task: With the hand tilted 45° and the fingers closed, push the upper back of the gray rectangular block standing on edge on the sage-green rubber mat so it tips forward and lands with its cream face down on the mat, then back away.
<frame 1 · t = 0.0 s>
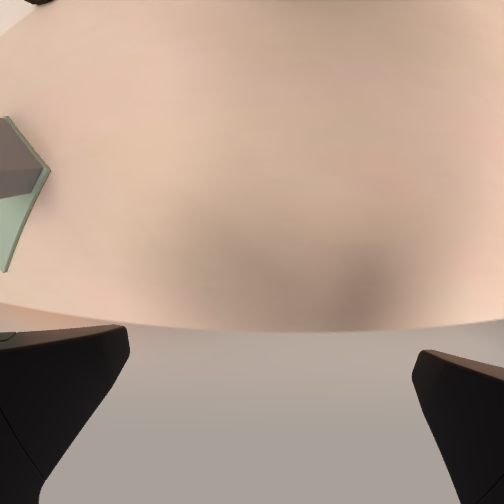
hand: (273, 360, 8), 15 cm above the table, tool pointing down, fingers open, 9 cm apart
gray rectangular block: (16, 153, 22), point 1 cm above the table, touching mat
mat: (1, 195, 24), on the table
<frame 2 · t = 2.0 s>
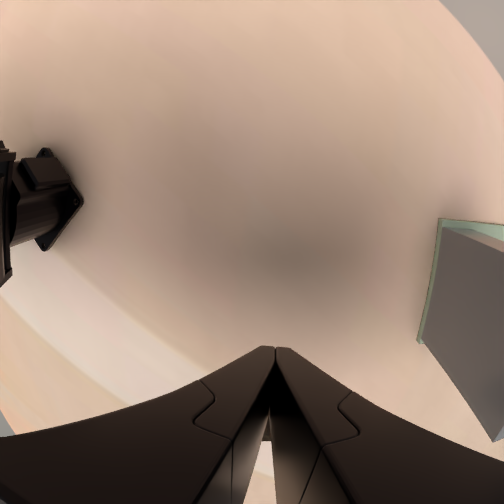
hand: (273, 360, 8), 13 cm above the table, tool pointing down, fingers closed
gray rectangular block: (448, 286, 20), point 1 cm above the table, touching mat
mat: (491, 282, 20), on the table
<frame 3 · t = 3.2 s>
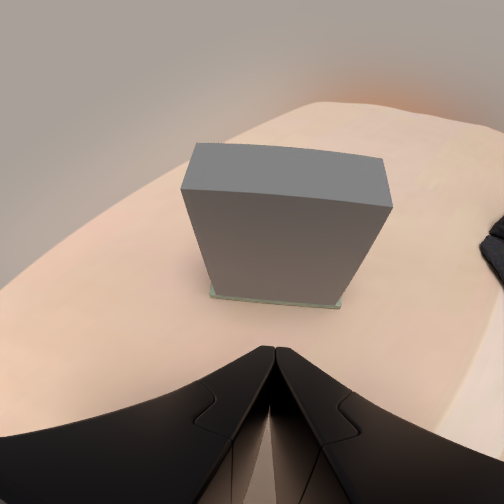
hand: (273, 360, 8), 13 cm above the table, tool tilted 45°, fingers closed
gray rectangular block: (277, 282, 23), point 1 cm above the table, touching mat
mat: (281, 227, 27), on the table
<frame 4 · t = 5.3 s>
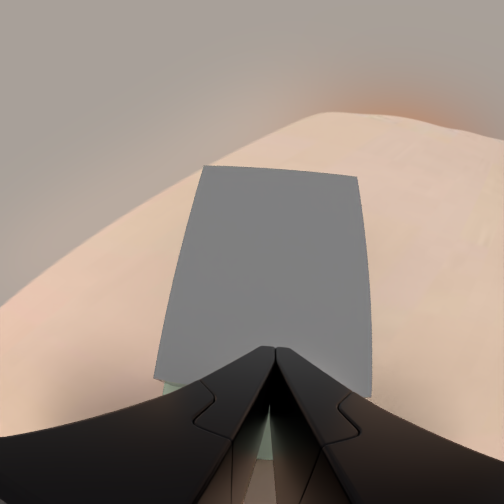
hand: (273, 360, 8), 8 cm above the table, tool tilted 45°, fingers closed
gray rectangular block: (261, 396, 12), point 2 cm above the table, tilted 90°, touching mat
mat: (267, 331, 16), on the table
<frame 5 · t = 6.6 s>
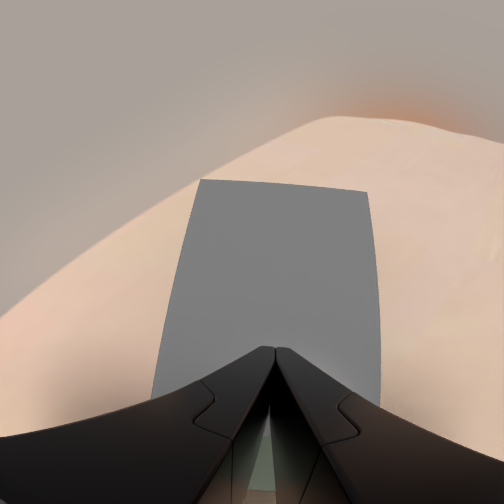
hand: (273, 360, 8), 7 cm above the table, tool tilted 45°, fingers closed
gray rectangular block: (262, 432, 11), point 2 cm above the table, tilted 90°, touching mat
mat: (269, 358, 15), on the table
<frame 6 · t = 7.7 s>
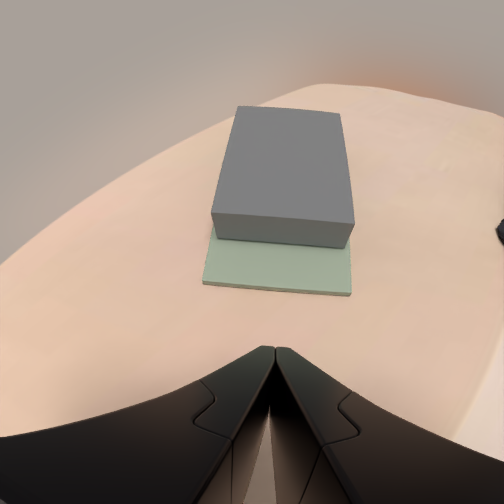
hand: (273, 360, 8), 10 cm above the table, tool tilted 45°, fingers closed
gray rectangular block: (282, 231, 20), point 2 cm above the table, tilted 90°, touching mat
mat: (282, 207, 24), on the table
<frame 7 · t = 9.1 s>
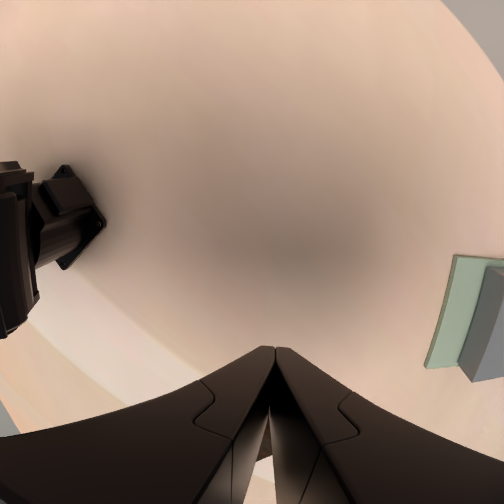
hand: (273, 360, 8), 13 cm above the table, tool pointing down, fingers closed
hand tool: (217, 450, 28), on the table
gray rectangular block: (482, 326, 18), point 2 cm above the table, tilted 90°, touching mat
mat: (497, 313, 20), on the table
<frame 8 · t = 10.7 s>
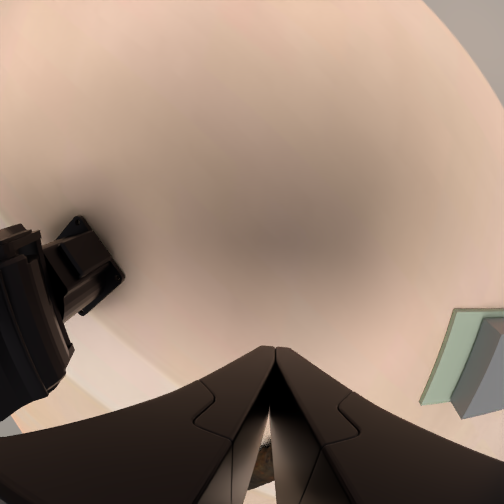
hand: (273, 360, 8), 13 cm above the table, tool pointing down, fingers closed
hand tool: (228, 472, 29), on the table
gray rectangular block: (474, 371, 20), point 2 cm above the table, tilted 90°, touching mat
mat: (489, 354, 21), on the table
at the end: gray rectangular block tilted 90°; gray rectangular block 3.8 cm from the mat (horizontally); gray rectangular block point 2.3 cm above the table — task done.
